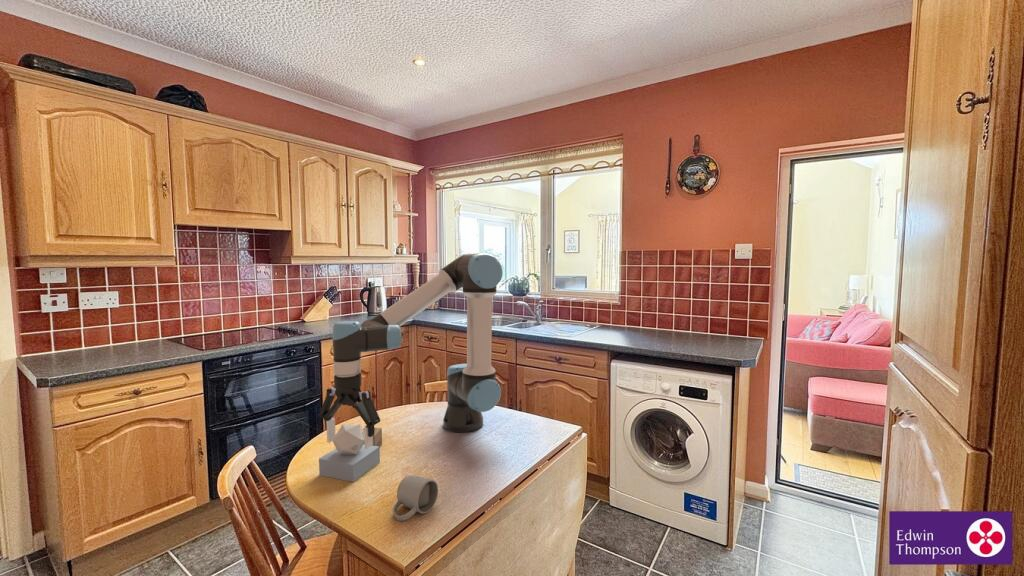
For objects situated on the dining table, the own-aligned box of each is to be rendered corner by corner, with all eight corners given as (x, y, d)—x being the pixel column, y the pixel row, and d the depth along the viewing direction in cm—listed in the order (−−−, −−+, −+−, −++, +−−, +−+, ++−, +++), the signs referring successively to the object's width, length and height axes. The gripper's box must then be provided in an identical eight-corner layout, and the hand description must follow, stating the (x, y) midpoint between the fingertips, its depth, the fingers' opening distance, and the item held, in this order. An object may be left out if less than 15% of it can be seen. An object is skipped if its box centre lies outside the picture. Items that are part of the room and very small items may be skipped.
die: (345, 464, 117) (367, 433, 120) (321, 447, 118) (342, 416, 121) (356, 461, 125) (376, 431, 128) (333, 445, 127) (353, 416, 129)
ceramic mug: (415, 494, 110) (414, 467, 109) (439, 503, 106) (438, 474, 105) (385, 516, 101) (383, 486, 100) (409, 527, 96) (408, 496, 96)
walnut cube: (382, 445, 140) (381, 427, 139) (375, 453, 134) (374, 435, 133) (364, 444, 140) (364, 427, 140) (357, 452, 134) (356, 434, 134)
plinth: (379, 462, 127) (379, 446, 127) (353, 482, 116) (353, 464, 116) (347, 456, 131) (347, 441, 131) (319, 475, 120) (318, 458, 120)
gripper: (391, 373, 121) (393, 443, 123) (323, 367, 129) (325, 433, 131) (375, 380, 114) (377, 455, 116) (304, 373, 122) (306, 443, 124)
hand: (349, 443), depth 123 cm, fingers open, 13 cm apart
